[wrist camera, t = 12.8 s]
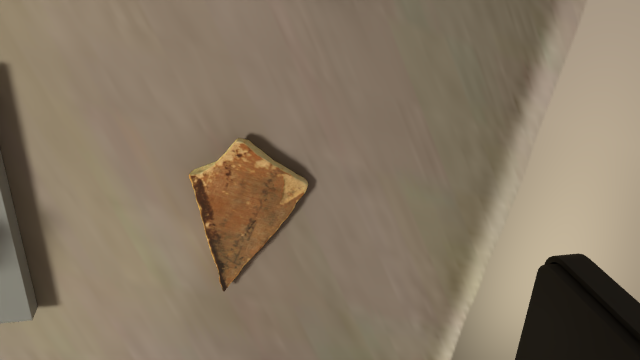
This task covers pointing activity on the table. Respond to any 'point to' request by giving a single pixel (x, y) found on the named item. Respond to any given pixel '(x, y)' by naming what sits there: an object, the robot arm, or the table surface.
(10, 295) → the base plate
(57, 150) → the table surface
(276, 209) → the shard
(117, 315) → the table surface
